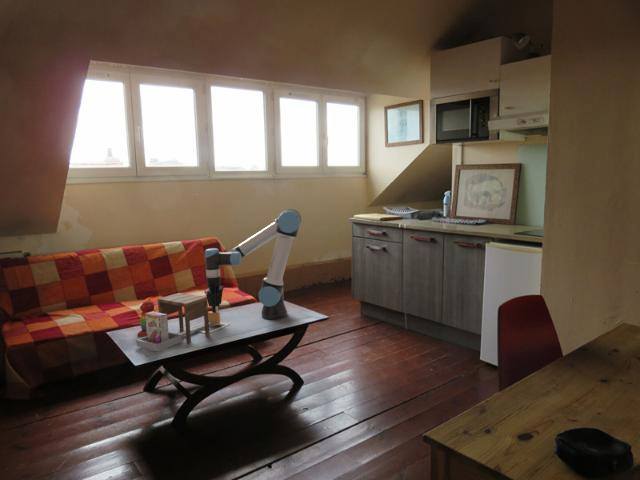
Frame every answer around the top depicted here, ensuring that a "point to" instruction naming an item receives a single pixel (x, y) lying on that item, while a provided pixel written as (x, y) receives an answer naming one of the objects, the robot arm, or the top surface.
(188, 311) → the small wooden table
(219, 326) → the pit mat
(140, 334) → the stacking bear
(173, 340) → the sled
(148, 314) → the candy bar box
